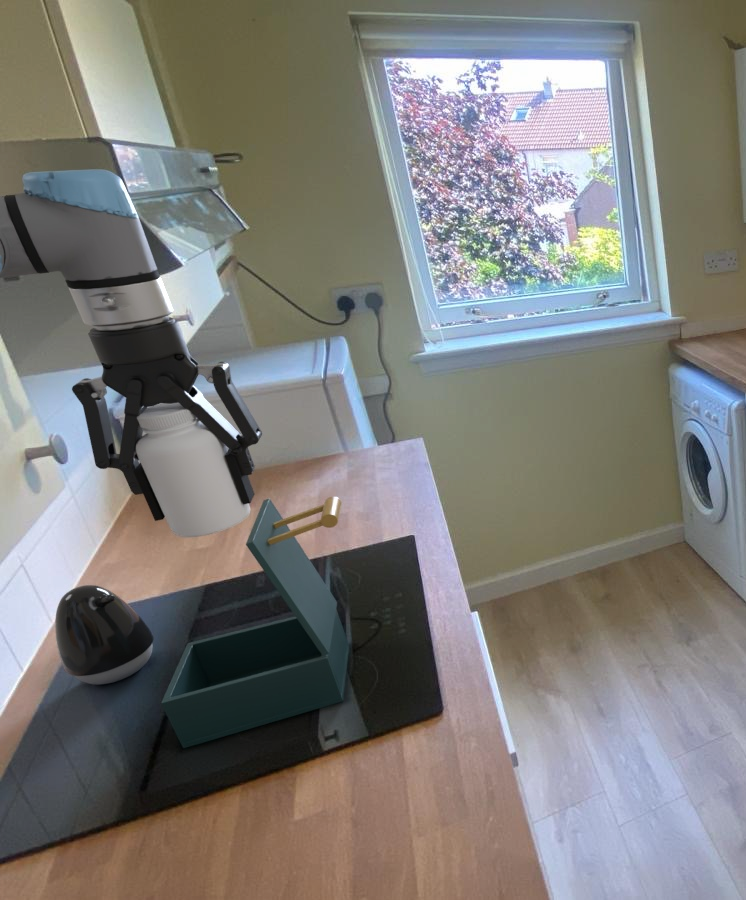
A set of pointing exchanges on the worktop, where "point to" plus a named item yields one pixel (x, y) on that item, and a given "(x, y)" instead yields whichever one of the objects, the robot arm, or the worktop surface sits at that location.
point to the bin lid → (296, 567)
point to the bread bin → (253, 680)
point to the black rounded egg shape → (100, 636)
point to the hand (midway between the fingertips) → (206, 506)
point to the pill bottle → (188, 472)
